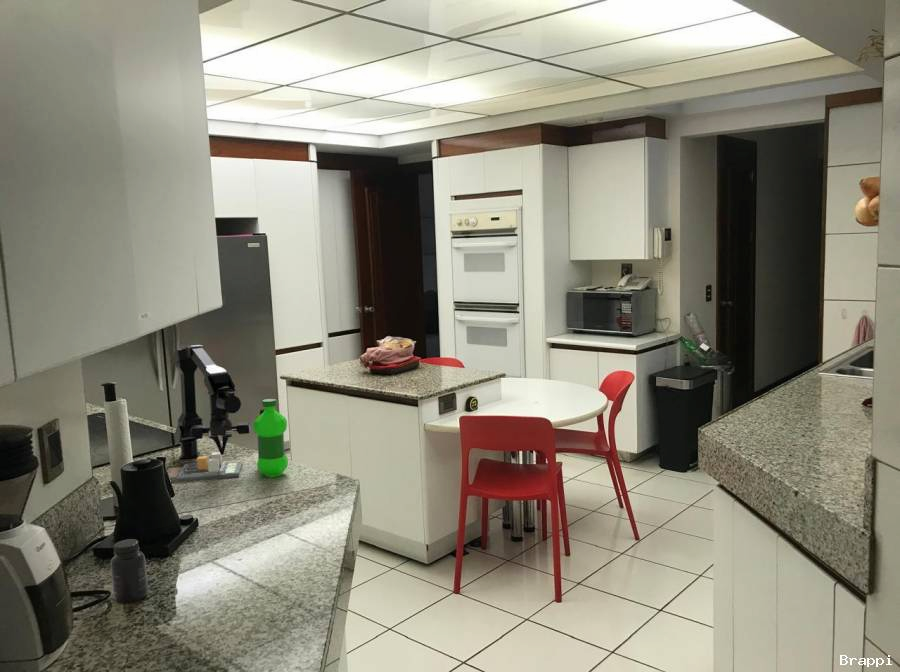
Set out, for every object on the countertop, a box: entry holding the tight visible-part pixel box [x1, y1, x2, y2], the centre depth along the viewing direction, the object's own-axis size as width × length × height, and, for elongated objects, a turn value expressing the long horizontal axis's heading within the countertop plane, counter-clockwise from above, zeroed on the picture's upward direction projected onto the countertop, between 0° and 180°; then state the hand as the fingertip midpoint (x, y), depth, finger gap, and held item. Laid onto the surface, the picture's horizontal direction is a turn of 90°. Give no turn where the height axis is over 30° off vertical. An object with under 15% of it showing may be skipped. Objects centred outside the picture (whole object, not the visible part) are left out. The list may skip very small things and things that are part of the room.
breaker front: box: [208, 458, 219, 473], centre depth 237 cm, size 3×3×4 cm
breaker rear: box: [210, 451, 223, 466], centre depth 245 cm, size 3×3×4 cm
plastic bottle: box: [253, 398, 289, 478], centre depth 237 cm, size 10×10×25 cm
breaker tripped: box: [196, 455, 209, 470], centre depth 240 cm, size 3×3×4 cm
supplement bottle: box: [109, 538, 149, 604], centre depth 154 cm, size 7×7×12 cm
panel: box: [166, 460, 243, 483], centre depth 240 cm, size 13×24×2 cm, turn 101°
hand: (222, 454), depth 241 cm, fingers closed
